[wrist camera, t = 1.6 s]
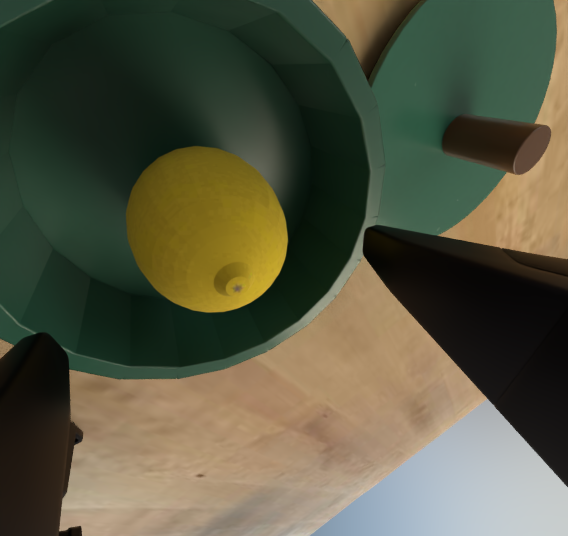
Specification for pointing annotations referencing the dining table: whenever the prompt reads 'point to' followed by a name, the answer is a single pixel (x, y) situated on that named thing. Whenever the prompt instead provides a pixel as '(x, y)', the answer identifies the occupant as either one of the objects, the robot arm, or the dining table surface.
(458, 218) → the pot lid
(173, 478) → the dining table surface
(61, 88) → the pot
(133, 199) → the lemon
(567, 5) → the dining table surface
